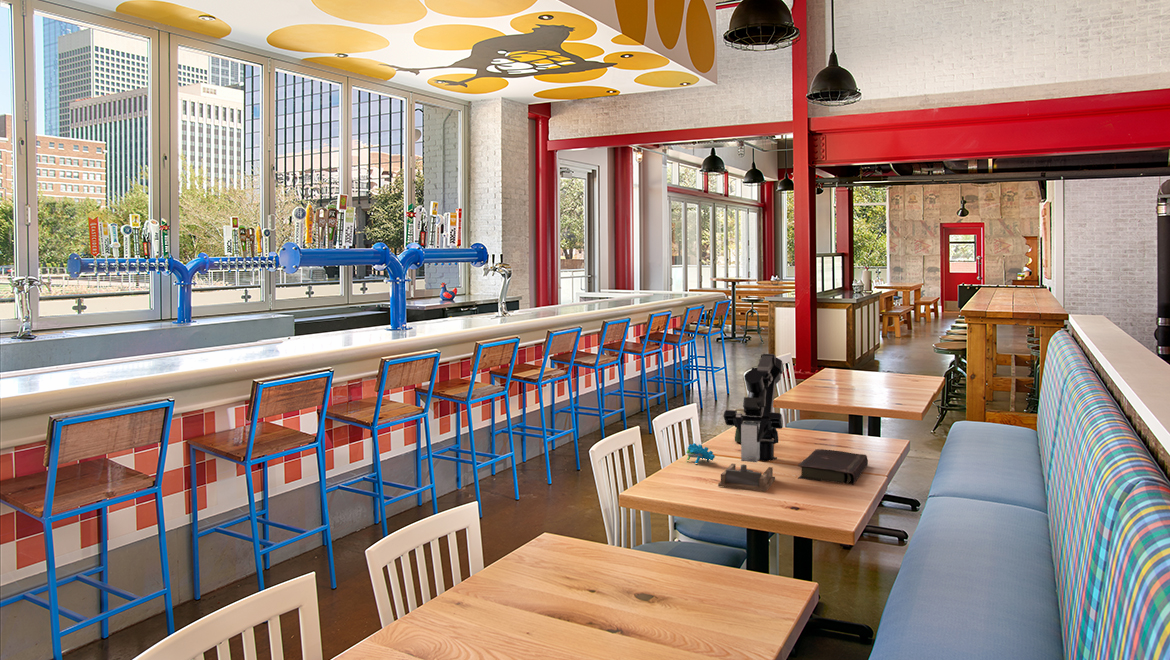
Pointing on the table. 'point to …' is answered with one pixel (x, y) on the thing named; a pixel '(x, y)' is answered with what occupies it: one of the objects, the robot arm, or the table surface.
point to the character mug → (737, 434)
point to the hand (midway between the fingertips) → (749, 440)
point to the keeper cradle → (746, 478)
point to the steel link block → (750, 441)
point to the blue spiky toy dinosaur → (699, 452)
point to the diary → (833, 466)
